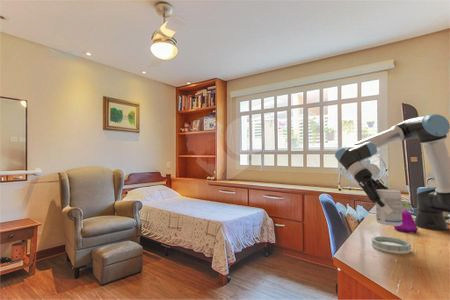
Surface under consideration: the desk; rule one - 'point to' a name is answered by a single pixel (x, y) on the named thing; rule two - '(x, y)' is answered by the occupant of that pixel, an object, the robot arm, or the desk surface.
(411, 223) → the magenta faceted rounded piece
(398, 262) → the desk surface
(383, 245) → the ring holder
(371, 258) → the desk surface
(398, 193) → the supplement tub
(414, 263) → the desk surface
